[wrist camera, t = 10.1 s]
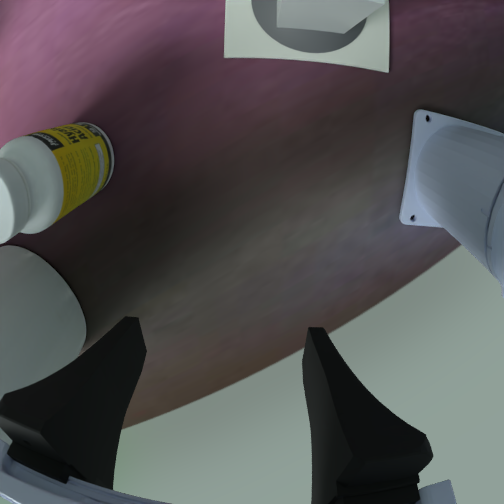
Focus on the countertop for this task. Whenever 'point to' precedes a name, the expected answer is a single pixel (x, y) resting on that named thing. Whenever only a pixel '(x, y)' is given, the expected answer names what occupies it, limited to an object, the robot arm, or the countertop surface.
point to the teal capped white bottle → (324, 14)
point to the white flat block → (304, 37)
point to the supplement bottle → (51, 175)
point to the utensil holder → (35, 321)
